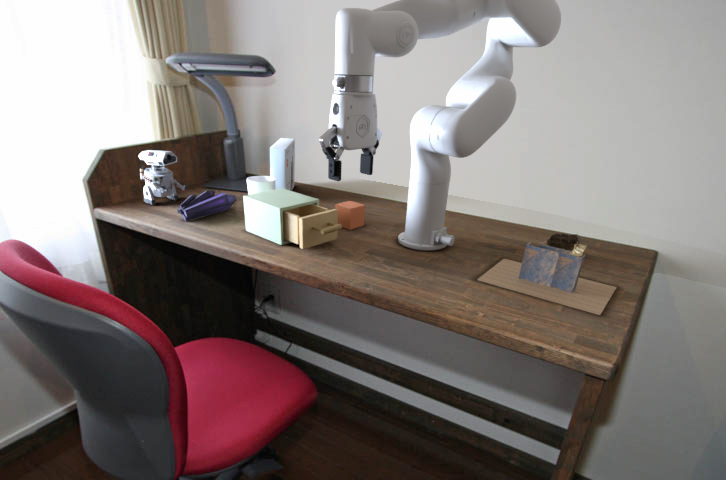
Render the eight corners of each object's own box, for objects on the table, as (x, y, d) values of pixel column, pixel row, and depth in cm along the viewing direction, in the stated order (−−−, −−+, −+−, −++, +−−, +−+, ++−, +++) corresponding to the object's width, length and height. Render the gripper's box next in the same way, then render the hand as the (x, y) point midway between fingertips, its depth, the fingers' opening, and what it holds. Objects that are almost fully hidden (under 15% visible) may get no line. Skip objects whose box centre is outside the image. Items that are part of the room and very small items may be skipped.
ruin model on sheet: (616, 287, 101) (632, 243, 96) (600, 315, 89) (616, 267, 84) (504, 258, 113) (512, 218, 108) (476, 279, 101) (484, 236, 96)
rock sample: (602, 238, 116) (584, 217, 112) (593, 264, 114) (575, 243, 110) (563, 244, 125) (545, 224, 120) (554, 268, 123) (536, 249, 118)
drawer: (349, 243, 116) (350, 213, 112) (315, 254, 108) (315, 223, 104) (301, 225, 126) (300, 198, 122) (267, 234, 118) (265, 205, 115)
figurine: (163, 209, 136) (154, 155, 129) (141, 201, 142) (131, 149, 135) (190, 203, 143) (183, 151, 135) (168, 196, 149) (160, 145, 141)
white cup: (244, 216, 134) (241, 180, 128) (256, 209, 140) (253, 174, 135) (270, 219, 132) (268, 183, 127) (281, 212, 139) (279, 177, 134)
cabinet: (319, 234, 123) (319, 199, 118) (281, 245, 115) (279, 208, 110) (283, 221, 131) (282, 188, 127) (245, 230, 123) (242, 195, 119)
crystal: (190, 202, 122) (246, 182, 135) (163, 199, 128) (219, 180, 141) (197, 229, 125) (251, 207, 139) (171, 224, 131) (224, 204, 145)
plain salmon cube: (364, 225, 131) (365, 205, 128) (349, 229, 127) (350, 208, 124) (349, 220, 134) (349, 200, 131) (335, 224, 130) (335, 204, 128)
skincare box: (287, 201, 149) (285, 148, 140) (270, 201, 149) (267, 147, 140) (296, 185, 167) (295, 137, 159) (280, 185, 167) (278, 137, 159)
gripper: (335, 87, 84) (333, 186, 92) (397, 86, 95) (390, 174, 104) (307, 84, 88) (308, 179, 97) (369, 84, 99) (365, 168, 108)
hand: (350, 176), depth 100 cm, fingers open, 9 cm apart
